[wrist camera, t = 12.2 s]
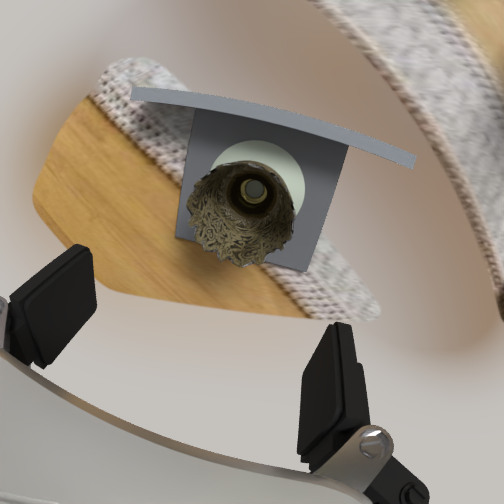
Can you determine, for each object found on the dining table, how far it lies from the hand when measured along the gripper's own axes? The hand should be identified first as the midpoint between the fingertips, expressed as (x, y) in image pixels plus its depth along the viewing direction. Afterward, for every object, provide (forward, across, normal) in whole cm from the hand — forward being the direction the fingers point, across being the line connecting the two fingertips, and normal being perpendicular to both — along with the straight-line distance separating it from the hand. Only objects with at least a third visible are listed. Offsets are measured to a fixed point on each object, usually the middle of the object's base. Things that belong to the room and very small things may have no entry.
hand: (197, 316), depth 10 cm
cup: (+18, +1, 0) cm, 18 cm away
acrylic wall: (+19, +1, -7) cm, 20 cm away
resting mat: (+19, +1, 0) cm, 19 cm away
